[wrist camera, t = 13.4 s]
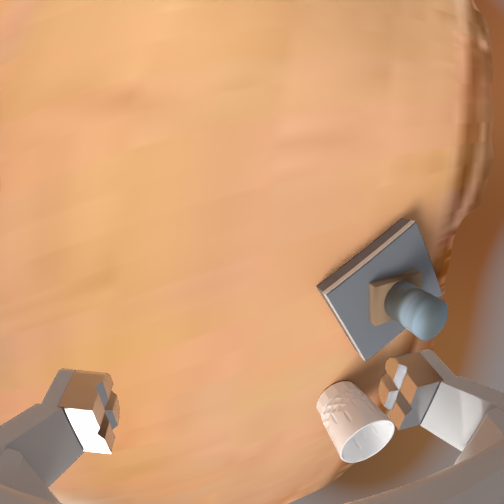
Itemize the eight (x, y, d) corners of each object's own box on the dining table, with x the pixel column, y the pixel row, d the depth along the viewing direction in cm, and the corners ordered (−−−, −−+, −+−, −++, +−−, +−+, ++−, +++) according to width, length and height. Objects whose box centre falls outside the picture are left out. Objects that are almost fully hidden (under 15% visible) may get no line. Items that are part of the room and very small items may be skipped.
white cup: (301, 407, 42) (328, 456, 32) (340, 368, 41) (376, 412, 32) (333, 423, 44) (361, 466, 35) (369, 388, 44) (403, 428, 34)
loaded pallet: (368, 321, 37) (405, 352, 29) (368, 283, 35) (409, 309, 28) (413, 305, 38) (452, 330, 30) (414, 269, 36) (457, 289, 29)
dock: (401, 217, 38) (416, 221, 35) (429, 287, 41) (442, 294, 39) (315, 286, 37) (326, 295, 34) (355, 350, 41) (365, 361, 38)
